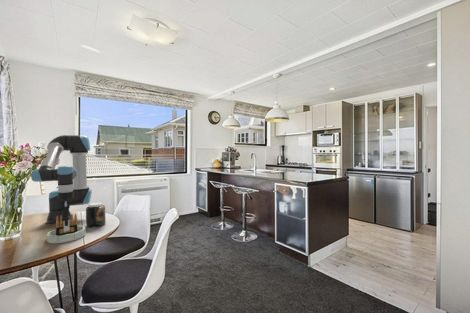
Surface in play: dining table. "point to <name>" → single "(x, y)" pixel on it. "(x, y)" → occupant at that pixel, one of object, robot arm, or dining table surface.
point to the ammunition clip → (73, 226)
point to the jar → (95, 215)
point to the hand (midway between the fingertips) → (66, 229)
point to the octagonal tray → (65, 236)
